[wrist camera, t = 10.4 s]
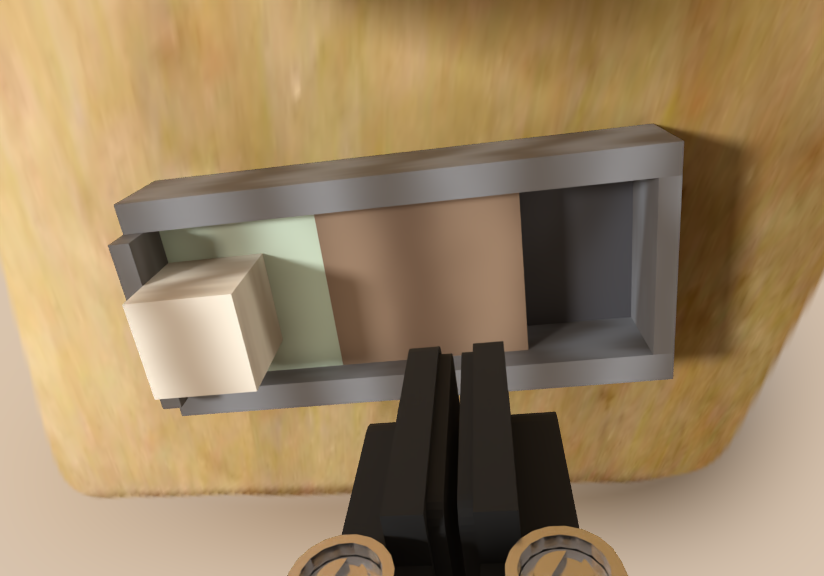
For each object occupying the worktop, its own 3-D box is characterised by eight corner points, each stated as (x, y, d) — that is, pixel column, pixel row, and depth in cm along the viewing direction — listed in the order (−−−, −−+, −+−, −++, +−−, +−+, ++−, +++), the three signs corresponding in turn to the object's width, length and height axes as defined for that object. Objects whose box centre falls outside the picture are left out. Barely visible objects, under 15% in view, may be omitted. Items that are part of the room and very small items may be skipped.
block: (262, 253, 32) (230, 293, 27) (282, 339, 34) (256, 391, 29) (168, 262, 32) (122, 304, 28) (194, 347, 34) (154, 399, 30)
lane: (653, 123, 31) (696, 148, 26) (647, 336, 36) (682, 395, 30) (154, 181, 34) (97, 214, 28) (210, 372, 38) (171, 432, 33)
